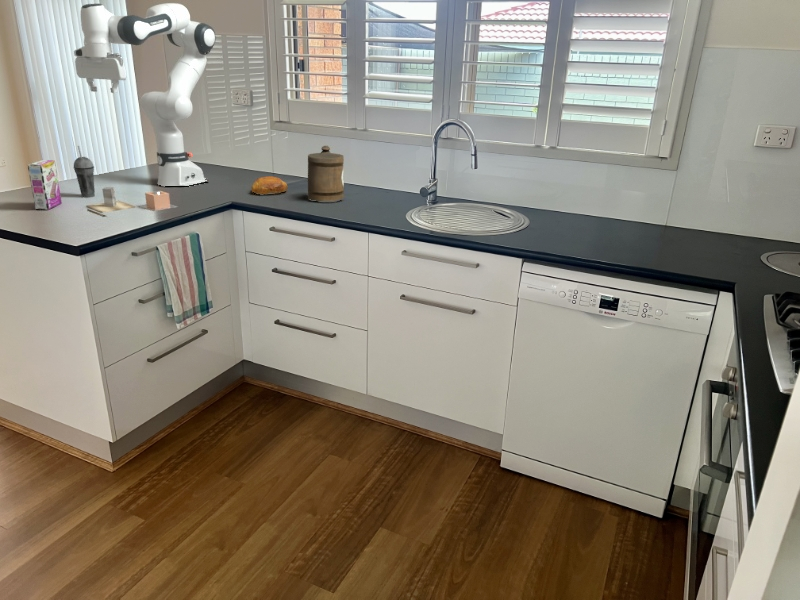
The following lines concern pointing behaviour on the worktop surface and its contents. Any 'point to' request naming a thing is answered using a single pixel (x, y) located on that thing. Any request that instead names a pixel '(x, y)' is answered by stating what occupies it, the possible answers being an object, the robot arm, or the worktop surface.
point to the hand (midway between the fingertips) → (104, 92)
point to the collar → (157, 200)
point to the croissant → (269, 185)
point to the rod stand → (159, 208)
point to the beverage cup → (85, 175)
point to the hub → (109, 203)
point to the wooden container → (325, 176)
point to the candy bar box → (44, 184)
